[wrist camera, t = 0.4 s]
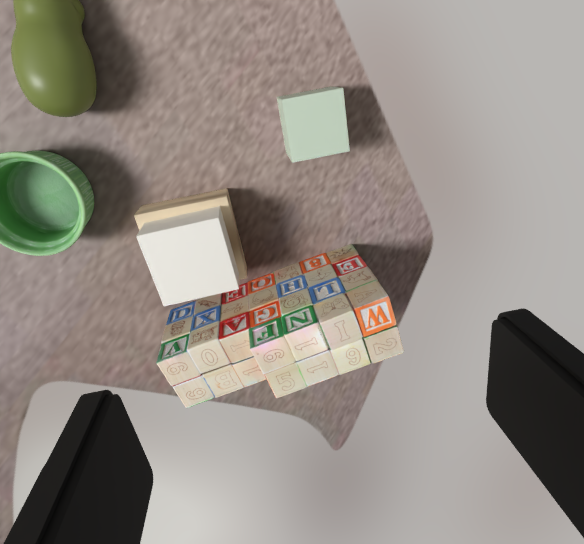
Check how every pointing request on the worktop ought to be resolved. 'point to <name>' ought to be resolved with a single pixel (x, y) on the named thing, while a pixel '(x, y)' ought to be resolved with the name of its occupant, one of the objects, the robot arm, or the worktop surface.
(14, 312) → the worktop surface
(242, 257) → the tower base
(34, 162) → the ramekin
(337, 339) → the stack of blocks
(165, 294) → the tower top
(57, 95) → the pear
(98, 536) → the robot arm
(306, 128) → the sage cube
